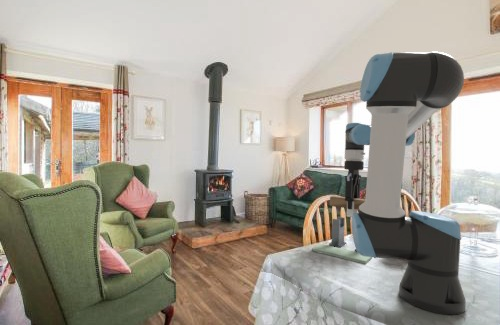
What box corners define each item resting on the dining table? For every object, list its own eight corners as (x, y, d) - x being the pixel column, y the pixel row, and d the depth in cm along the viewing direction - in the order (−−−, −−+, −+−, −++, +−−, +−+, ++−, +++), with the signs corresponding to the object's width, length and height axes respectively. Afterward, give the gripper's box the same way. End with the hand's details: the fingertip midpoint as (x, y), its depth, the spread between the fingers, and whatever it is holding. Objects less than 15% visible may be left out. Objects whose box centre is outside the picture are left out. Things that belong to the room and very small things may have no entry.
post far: (340, 247, 120) (341, 220, 119) (329, 245, 123) (330, 218, 122) (346, 244, 125) (347, 218, 125) (335, 241, 128) (336, 216, 128)
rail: (373, 211, 113) (374, 201, 113) (329, 205, 124) (330, 196, 124) (376, 210, 116) (376, 200, 116) (333, 204, 127) (333, 195, 127)
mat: (366, 264, 102) (366, 261, 102) (311, 250, 115) (312, 248, 115) (372, 258, 109) (372, 255, 109) (320, 246, 122) (320, 243, 122)
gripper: (356, 160, 111) (354, 220, 111) (369, 160, 124) (367, 214, 124) (337, 159, 115) (335, 217, 115) (351, 160, 129) (349, 212, 129)
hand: (352, 216), depth 120 cm, fingers closed on rail, 4 cm apart
